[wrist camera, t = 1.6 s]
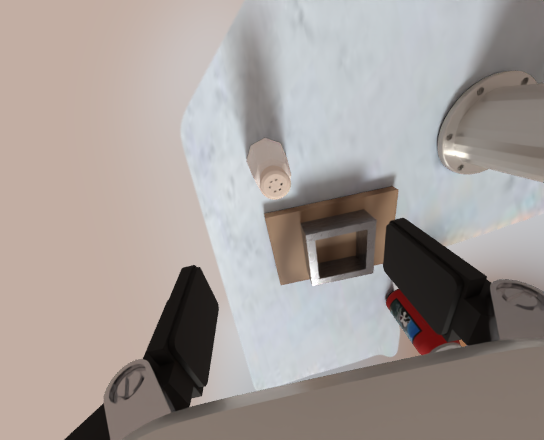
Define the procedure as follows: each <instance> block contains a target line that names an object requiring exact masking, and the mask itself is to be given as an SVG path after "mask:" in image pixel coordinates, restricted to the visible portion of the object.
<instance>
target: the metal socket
mask: <svg viewBox="0 0 544 440" xmlns="http://www.w3.org/2000/svg"><path fill="white" fill-rule="evenodd" d="M376 223H377V220H376V219H375V218H374V217H373V216H371V215H370V214H369V213H368V212H367V211H366V210H365V209H363V210H358V211H354V212H349V213H344V214H340V215H335V216H330V217H326V218H321V219H316V220H312V221H307V222H302V223H300V225H301V232H302V239H303V246H304V253H305V260H306V267H307V272H308V275H309V278H310V281H311V283H312V286H315V285H320V284H325V283H329V282H334V281H339V280H343V279H348V278H353V277H357V276H362V275H367V274H372V273H373V268H374V253H375V238H376ZM353 232H356V255H355V256H350V257H346V258H341V259H336V260H332V261H327V262H322V263H317V254H316V244H315V240H320V239H325V238H329V237H334V236H339V235H343V234H348V233H353Z"/></svg>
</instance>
